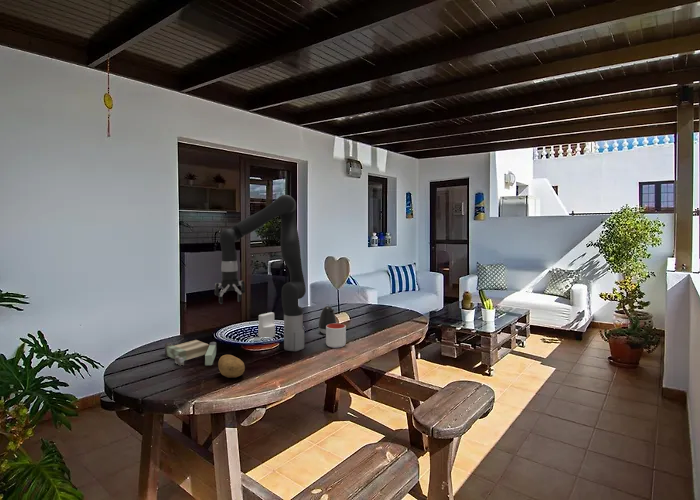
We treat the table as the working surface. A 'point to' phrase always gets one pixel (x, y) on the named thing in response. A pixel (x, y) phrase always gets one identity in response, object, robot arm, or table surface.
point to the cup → (335, 335)
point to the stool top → (186, 350)
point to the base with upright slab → (266, 325)
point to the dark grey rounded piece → (326, 318)
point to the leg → (210, 354)
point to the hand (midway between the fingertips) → (230, 302)
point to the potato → (231, 366)
